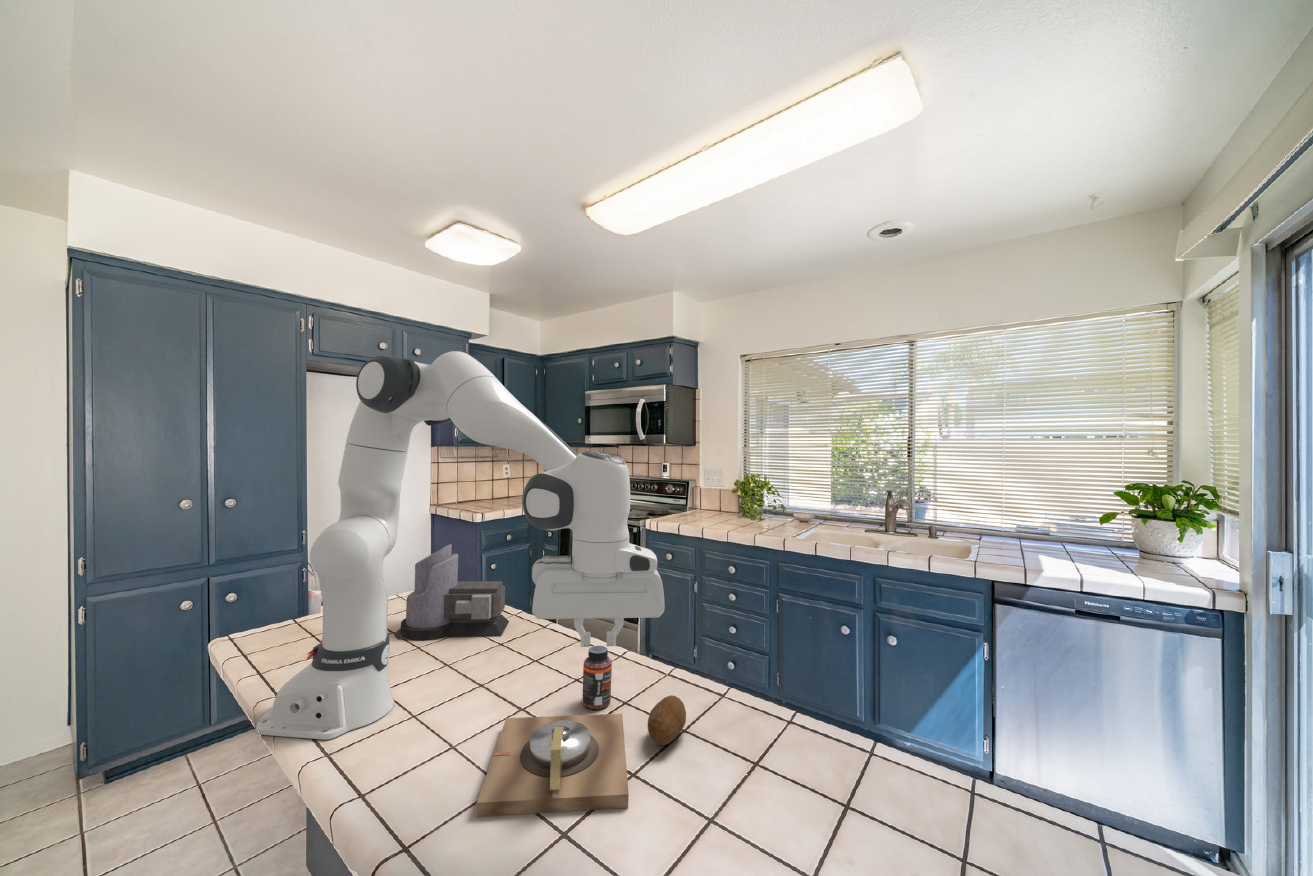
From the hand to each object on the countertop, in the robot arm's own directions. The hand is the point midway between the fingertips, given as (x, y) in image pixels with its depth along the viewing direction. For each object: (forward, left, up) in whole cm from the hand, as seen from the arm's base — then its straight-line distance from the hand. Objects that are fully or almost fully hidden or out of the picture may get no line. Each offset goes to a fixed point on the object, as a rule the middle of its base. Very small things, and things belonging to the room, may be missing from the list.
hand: (598, 645), depth 76 cm
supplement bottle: (0, +27, -23) cm, 36 cm away
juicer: (-42, +70, -23) cm, 85 cm away
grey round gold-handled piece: (-6, +5, -21) cm, 22 cm away
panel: (-6, +8, -23) cm, 25 cm away
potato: (+13, +14, -23) cm, 30 cm away
